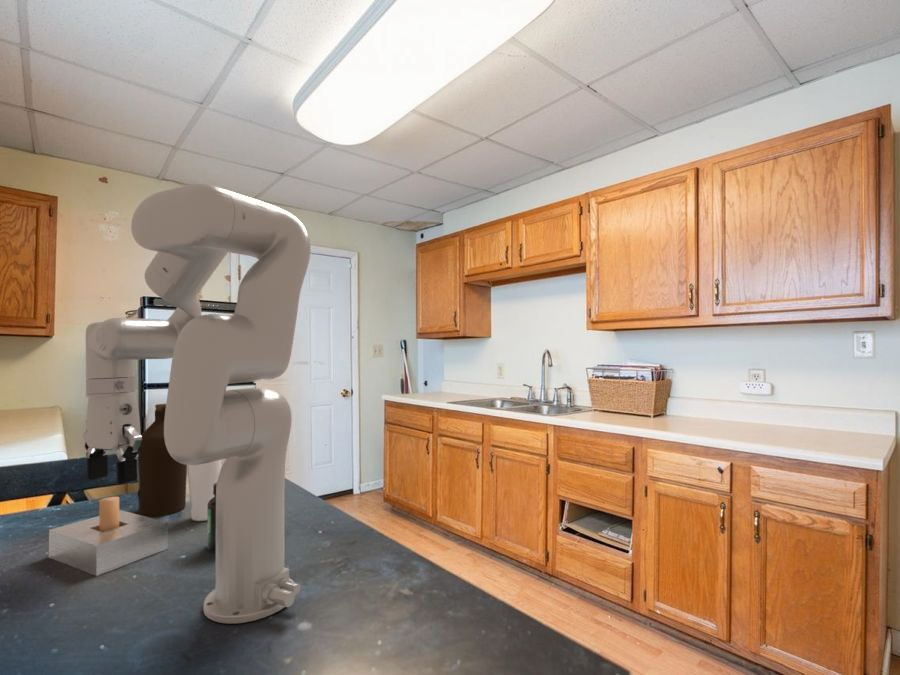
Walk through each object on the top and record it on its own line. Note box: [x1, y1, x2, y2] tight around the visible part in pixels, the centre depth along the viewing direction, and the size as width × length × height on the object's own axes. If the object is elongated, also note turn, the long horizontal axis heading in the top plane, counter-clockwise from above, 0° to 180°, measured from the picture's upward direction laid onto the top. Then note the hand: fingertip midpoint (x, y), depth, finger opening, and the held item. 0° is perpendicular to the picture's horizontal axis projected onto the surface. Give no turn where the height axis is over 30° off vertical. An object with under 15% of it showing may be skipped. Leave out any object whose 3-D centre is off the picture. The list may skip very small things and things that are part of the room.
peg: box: [98, 496, 120, 532], centre depth 88 cm, size 3×3×10 cm
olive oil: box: [137, 403, 188, 518], centre depth 112 cm, size 11×11×25 cm
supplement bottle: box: [206, 483, 217, 553], centre depth 91 cm, size 7×7×12 cm
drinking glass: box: [187, 460, 222, 522], centre depth 106 cm, size 7×7×15 cm
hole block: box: [48, 509, 169, 577], centre depth 88 cm, size 16×12×5 cm
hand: (111, 479), depth 88 cm, fingers open, 9 cm apart
